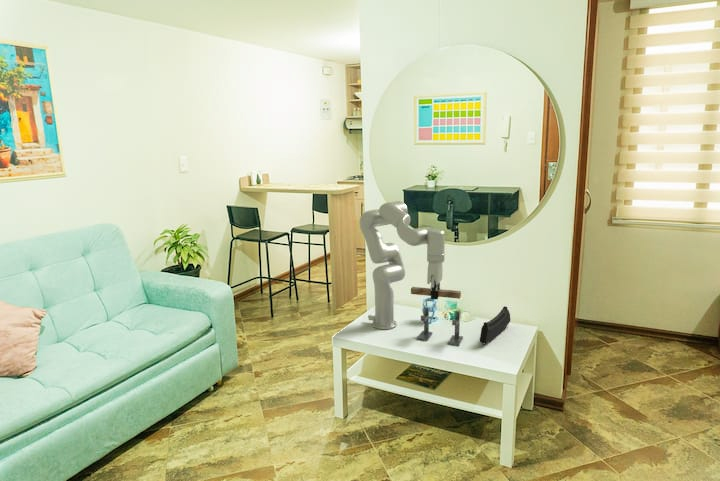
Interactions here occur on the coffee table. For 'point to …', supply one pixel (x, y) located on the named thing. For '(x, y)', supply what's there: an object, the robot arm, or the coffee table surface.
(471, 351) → the coffee table surface
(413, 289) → the rail
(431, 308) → the chair
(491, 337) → the magazine
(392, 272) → the robot arm
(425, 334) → the hook stand
